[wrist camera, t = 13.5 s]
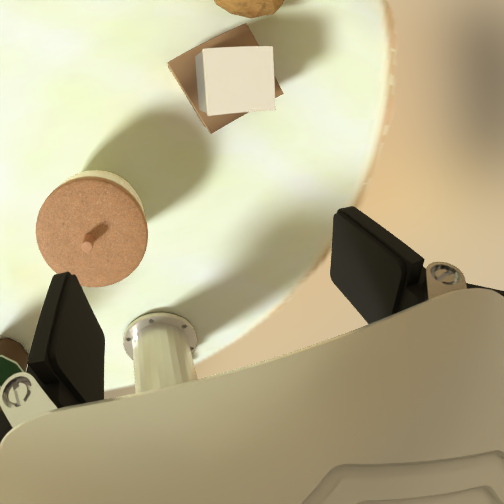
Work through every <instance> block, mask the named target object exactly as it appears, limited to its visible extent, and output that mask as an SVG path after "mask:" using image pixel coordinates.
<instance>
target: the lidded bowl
mask: <svg viewBox="0 0 504 504" xmlns="http://www.w3.org/2000/svg"><path fill="white" fill-rule="evenodd" d="M36 238H37V243H38V246H39V250H40V252H41V254H42V256H43V258H44V259H45V261H46V262H47V264H48V265H49V266H50V267H51V268H52V270H53V271H55V272H56V273H57V274H60V273H64V272H70V273H71V275H73V274H75V275H76V276H77V278H78V281H79V283H80V285H81V286H87V287H102V286H107V285H111V284H114V283H116V282H119V281H121V280H123V279H124V278H126V277H127V276H128V275H130V274H131V273H132V272H133V271H134V270H135V269H136V268H137V266H138V265H139V264H140V262H141V260H142V258H143V256H144V254H145V251H146V247H147V240H148V230H147V222H146V218H145V212H144V209H143V205H142V203H141V200H140V198H139V196H138V194H137V193H136V192H135V190H134V189H133V187H132V186H131V185H130V184H129V183H128V182H127V181H125V180H124V179H123V178H122V177H120V176H118V175H116V174H114V173H111V172H108V171H103V170H90V171H84V172H81V173H78V174H76V175H74V176H72V177H70V178H68V179H67V180H65V181H64V182H63V183H62V184H60V185H59V186H58V187H57V188H56V189H55V190H54V191H53V192H52V193H51V194H50V195H49V196H48V197H47V199H46V200H45V202H44V203H43V205H42V207H41V209H40V211H39V214H38V218H37V222H36Z"/></svg>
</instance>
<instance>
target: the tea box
mask: <svg viewBox="0 0 504 504" xmlns="http://www.w3.org/2000/svg"><path fill="white" fill-rule="evenodd" d="M244 46H259V45H258V43H257V42H256V40H255V38H254V36H253V34H252V33H251V31H250V29H249V27H248V25H247V24H246V23H245V24H243V25H241V26H238V27H236V28H234V29H232V30H230V31H227V32H225V33H223V34H221V35H219V36H217V37H215V38H213V39H211V40H208V41H206V42H204V43H203V44H201V45H199V46H197V47H195V48H193V49H191V50H189V51H187V52H185V53H184V54H182V55H180V56H178V57H176V58H175V59H173V60H171V61H169V62H168V68H169V69H170V71H171V72H172V74H173V76H174V77H175V79H176V80H177V82H178V84H179V85H180V87H181V89H182V90H183V92H184V93H185V95H186V97H187V98H188V100H189V102H190V103H191V105H192V106H193V108H194V110H195V111H196V113H197V115H198V116H199V118H200V120H201V121H202V123H203V125H204V126H205V127H207V129H208V130H209V132H210V133H211V134H212V133H213V132H215V131H217V130H218V129H220V128H222V127H224V126H225V125H227V124H229V123H230V122H232V121H234V120H236V119H237V118H239V117H241V116H243V115H244V114H246V113H248V112H241V113H230V114H221V115H212V116H208V115H207V113H205V112H203V111H201V110H199V101H198V89H197V77H196V64H195V56H196V55H198V54H199V53H201V52H202V50H203V49H206V48H221V47H244ZM274 83H275V98H276V97H278V96H280V95H282V94H283V92H282V90H281V88H280V86H279V84H278V82H277V80H276V78H275V76H274Z"/></svg>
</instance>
